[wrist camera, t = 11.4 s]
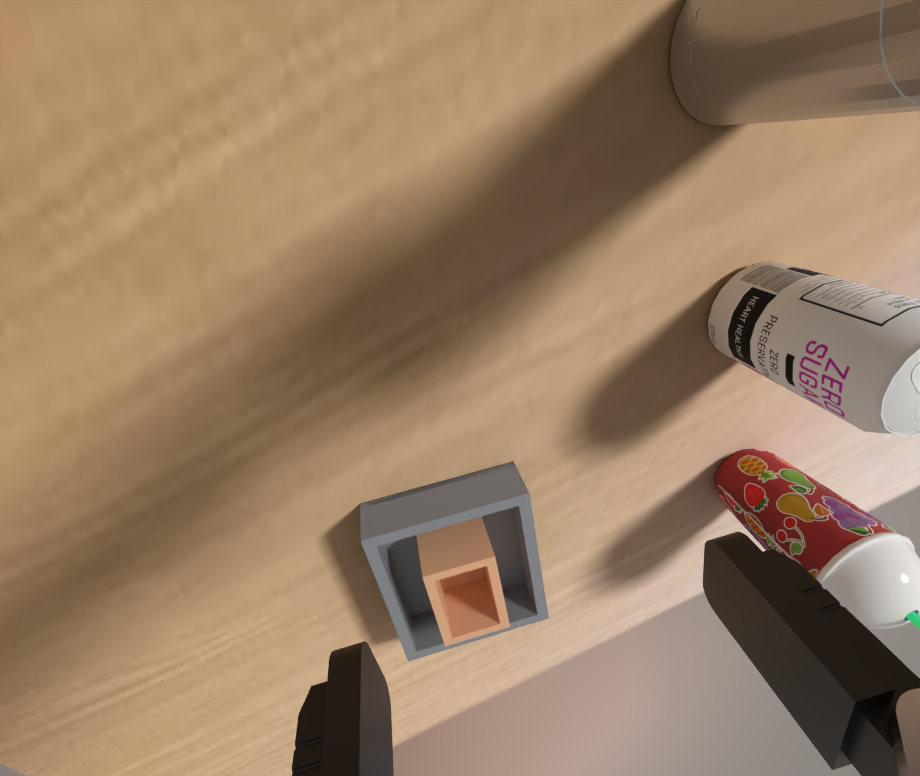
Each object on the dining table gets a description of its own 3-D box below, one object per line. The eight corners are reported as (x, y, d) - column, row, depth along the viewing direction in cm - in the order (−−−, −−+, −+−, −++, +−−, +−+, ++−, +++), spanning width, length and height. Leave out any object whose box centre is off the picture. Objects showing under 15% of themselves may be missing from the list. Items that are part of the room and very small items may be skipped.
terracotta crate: (478, 507, 43) (495, 556, 38) (493, 574, 48) (510, 626, 42) (414, 525, 43) (422, 577, 38) (435, 591, 47) (445, 646, 42)
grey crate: (513, 461, 43) (529, 493, 39) (533, 581, 50) (548, 618, 46) (360, 503, 41) (360, 540, 37) (404, 620, 49) (408, 661, 45)
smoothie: (699, 512, 50) (883, 706, 33) (703, 449, 46) (914, 631, 29) (771, 491, 51) (989, 670, 33) (781, 427, 47) (1034, 591, 29)
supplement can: (807, 299, 41) (1021, 369, 28) (733, 370, 43) (900, 467, 30) (762, 237, 38) (982, 284, 24) (684, 317, 39) (848, 400, 26)
